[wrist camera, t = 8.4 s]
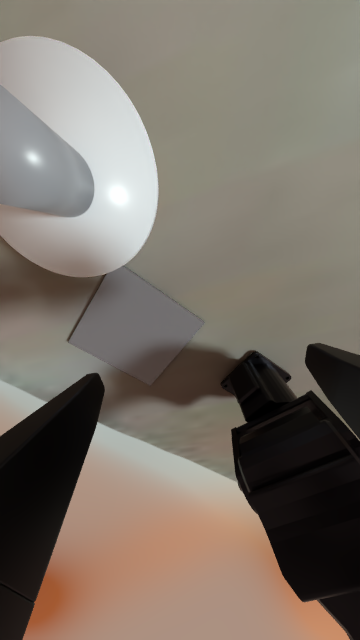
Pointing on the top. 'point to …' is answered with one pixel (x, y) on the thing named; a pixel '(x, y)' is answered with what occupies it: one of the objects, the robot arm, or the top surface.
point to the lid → (71, 161)
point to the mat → (134, 326)
